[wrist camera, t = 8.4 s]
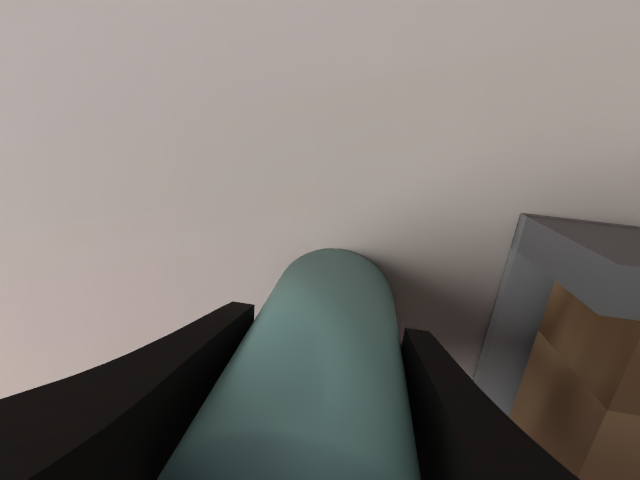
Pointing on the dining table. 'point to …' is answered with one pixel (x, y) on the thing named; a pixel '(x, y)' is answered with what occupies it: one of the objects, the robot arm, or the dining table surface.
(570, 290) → the board
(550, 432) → the socket block
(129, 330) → the dining table surface
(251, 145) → the dining table surface
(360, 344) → the dowel
